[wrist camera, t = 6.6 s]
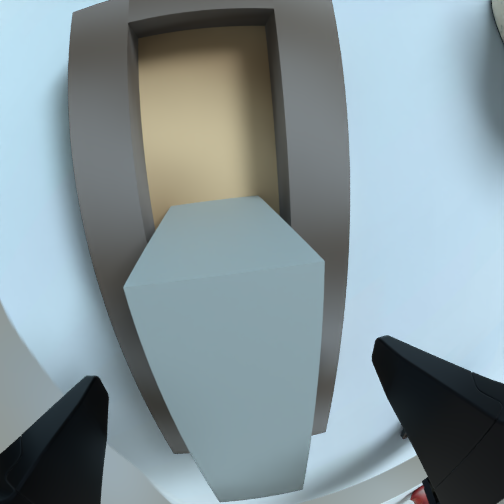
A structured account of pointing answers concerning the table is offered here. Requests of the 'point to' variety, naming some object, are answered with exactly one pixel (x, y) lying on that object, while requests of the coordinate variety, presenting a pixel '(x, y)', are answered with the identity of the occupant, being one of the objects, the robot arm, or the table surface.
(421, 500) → the liquor
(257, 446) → the light blue block
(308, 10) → the grey and beige frame
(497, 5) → the teacup with lid
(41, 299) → the table surface
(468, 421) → the robot arm
